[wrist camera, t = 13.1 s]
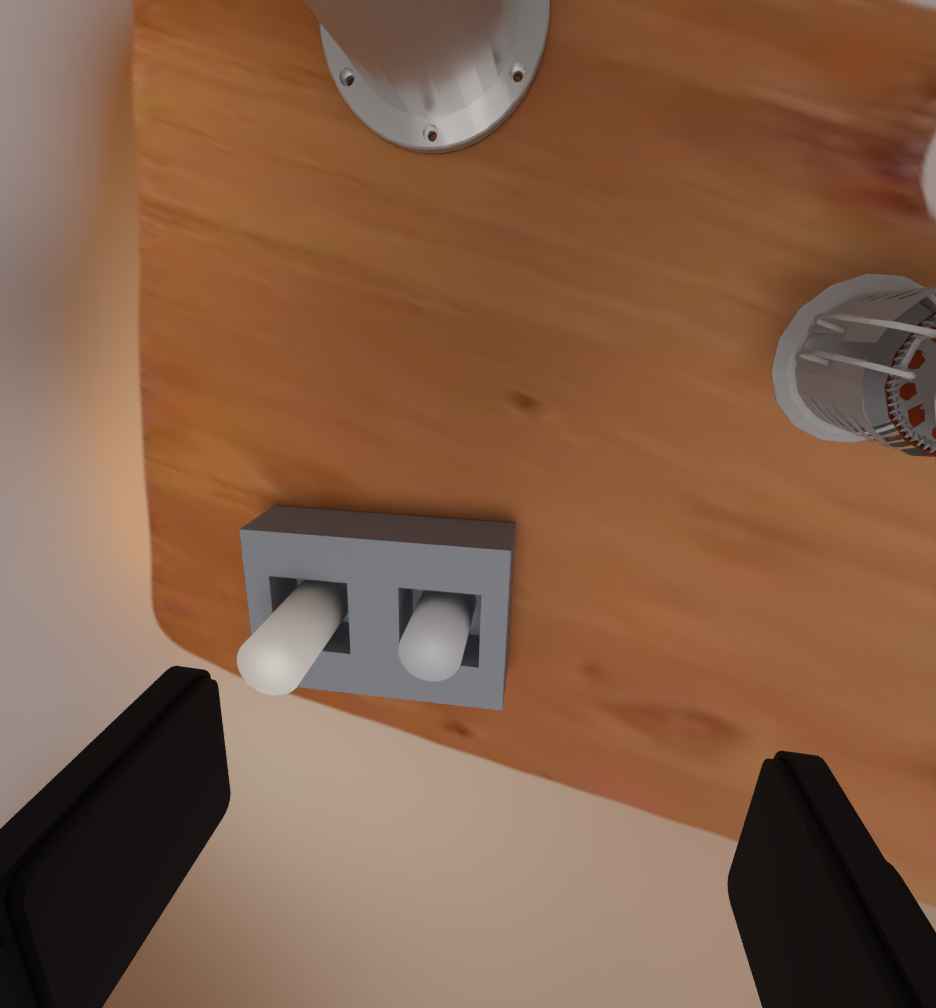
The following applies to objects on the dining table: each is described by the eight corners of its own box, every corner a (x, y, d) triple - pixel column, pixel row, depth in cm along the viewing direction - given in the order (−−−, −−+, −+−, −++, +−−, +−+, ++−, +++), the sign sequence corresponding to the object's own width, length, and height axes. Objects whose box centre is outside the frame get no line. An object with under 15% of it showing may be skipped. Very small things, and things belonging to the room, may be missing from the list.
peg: (305, 562, 41) (233, 633, 32) (356, 567, 41) (300, 640, 31) (307, 610, 43) (240, 691, 33) (358, 615, 42) (304, 699, 33)
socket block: (274, 505, 41) (213, 546, 34) (515, 523, 39) (507, 571, 32) (287, 644, 45) (234, 709, 38) (507, 667, 43) (498, 741, 35)
